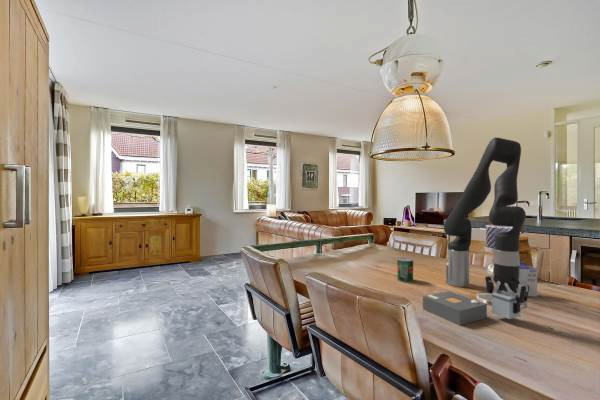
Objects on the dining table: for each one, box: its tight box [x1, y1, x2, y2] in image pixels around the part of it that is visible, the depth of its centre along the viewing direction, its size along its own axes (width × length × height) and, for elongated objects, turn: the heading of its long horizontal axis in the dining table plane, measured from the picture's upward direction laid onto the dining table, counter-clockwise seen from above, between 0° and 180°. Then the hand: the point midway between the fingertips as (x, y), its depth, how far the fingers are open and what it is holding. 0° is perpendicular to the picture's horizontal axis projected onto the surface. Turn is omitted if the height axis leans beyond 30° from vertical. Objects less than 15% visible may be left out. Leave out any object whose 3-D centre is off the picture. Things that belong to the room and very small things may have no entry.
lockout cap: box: [491, 291, 521, 320], centre depth 105 cm, size 6×6×7 cm
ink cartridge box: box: [513, 261, 538, 297], centre depth 131 cm, size 10×6×14 cm, turn 78°
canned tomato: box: [396, 257, 414, 283], centre depth 155 cm, size 8×8×11 cm
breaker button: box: [444, 298, 463, 303], centre depth 111 cm, size 4×4×5 cm
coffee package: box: [519, 236, 534, 267], centre depth 157 cm, size 10×12×22 cm
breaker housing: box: [422, 291, 488, 326], centre depth 111 cm, size 16×14×6 cm
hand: (505, 309), depth 105 cm, fingers closed on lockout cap, 6 cm apart
